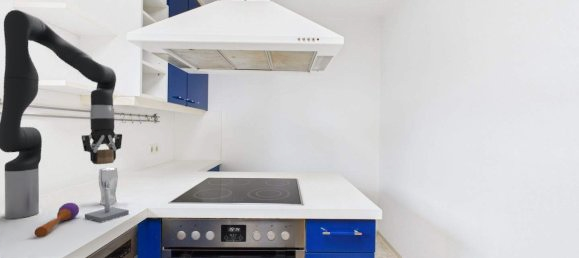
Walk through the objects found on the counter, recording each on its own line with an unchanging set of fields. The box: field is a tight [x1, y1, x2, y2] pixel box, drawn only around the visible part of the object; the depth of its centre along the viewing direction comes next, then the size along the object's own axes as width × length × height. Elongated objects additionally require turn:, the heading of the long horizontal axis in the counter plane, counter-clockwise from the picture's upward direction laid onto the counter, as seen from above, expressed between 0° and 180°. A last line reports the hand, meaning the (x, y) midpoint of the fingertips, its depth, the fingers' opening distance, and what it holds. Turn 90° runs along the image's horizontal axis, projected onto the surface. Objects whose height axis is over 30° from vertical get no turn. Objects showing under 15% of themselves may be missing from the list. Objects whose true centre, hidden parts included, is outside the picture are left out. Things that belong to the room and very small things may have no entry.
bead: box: [93, 148, 115, 165], centre depth 106 cm, size 6×6×5 cm
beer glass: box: [98, 167, 119, 206], centre depth 121 cm, size 7×7×15 cm
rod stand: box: [84, 188, 130, 223], centre depth 104 cm, size 10×10×11 cm
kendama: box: [33, 202, 80, 238], centre depth 94 cm, size 6×6×20 cm
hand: (103, 161), depth 106 cm, fingers closed on bead, 6 cm apart
